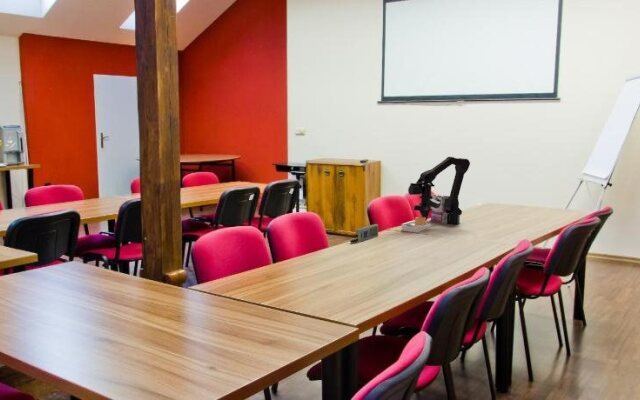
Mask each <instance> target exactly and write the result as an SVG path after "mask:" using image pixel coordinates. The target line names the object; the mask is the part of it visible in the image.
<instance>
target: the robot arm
mask: <svg viewBox="0 0 640 400" xmlns="http://www.w3.org/2000/svg"><path fill="white" fill-rule="evenodd" d="M452 165H454V170H455V174H454V179H453V183H452V185H451V190H450V193H449V195H448V196H449V197H448V198H445V202H444V208H445V210H446V212H447V213H448V216H447V222H445V223H446V225H453V226H458V225H460V224H461V222H460V217H461V216H462V214H463V211H462V209H461V208H460V202H459V195H460V191H461V188H462V184H463V180H464V176H465V174H466V173H467V171H469V168H470V165H471V161H470V160H469V159H468V158H460V157H458V158H457V157H454V156H447V157H446V158H445V159H444V160H442V161H441V162H439V163H438V164H436V166H434V167H432V168H431V169H428V170H425V171H424V172H422V173H420V176H419V177H418V179H417V181H416V182H415V183H414V182H411V183H410V184H409V186H408V189H407V192H408V194H409V195H410V196H418V195H419V198H420V202H419V204H415V205H414V206H413V211H419V214H420V215H421V217H426V222H427V221H428V217H429V216H430V215H429V214H430V213H431V210H433V209H431V207H434V208H439V206H440V205H441V200H440V199H437V200H434V199H433V197H432V188H433V187H436V186H435V184H434V183H433V182H434V181H435V179H436V178H437V176H438V175H439V174H440V173H442V172H444V171H445V170H446V169H448V168H449V167H450V166H452Z"/></svg>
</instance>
